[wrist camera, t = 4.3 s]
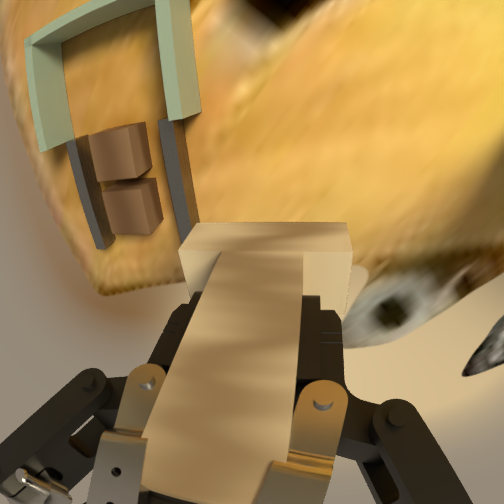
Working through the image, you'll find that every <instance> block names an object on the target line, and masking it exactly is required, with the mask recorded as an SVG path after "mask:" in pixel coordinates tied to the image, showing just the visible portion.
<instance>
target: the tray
mask: <svg viewBox="0 0 504 504" xmlns="http://www.w3.org/2000/svg"><path fill="white" fill-rule="evenodd" d="M152 5H155V9H156V21H157V31H158V41H159V51H160V60H161V68H162V76H163V84H164V91H165V99H166V106H167V113H168V119H169V121H171V120H178V119H183V118H186V117H189V116H191V115H194V114H197V113H199V112H202V111H201V103H200V95H199V87H198V79H197V70H196V61H195V52H194V43H193V33H192V23H191V13H190V2H189V0H91V1H89V2H87V3H85V4H83V5H81V6H79V7H77V8H75V9H74V10H72V11H70V12H68V13H66V14H64V15H63V16H61V17H59V18H58V19H56V20H54V21H52V22H51V23H49V24H48V25H46V26H44V27H43V28H41V29H40V30H38V31H37V32H35V33H34V34H32V35H31V36H29V37H28V38H26V39H25V40H24V45H25V61H26V72H27V81H28V89H29V96H30V103H31V109H32V115H33V120H34V126H35V131H36V136H37V140H38V145H39V149H40V153H41V152H44V151H47V150H49V149H51V148H53V147H56V146H58V145H60V144H62V143H65V142H67V141H69V140H72V139H74V138H75V137H74V132H73V127H72V122H71V117H70V111H69V105H68V99H67V92H66V85H65V77H64V69H63V60H62V49H61V43H63V42H65V41H66V40H68V39H70V38H72V37H74V36H76V35H78V34H80V33H83V32H85V31H87V30H89V29H91V28H93V27H96V26H98V25H100V24H103V23H105V22H107V21H110V20H112V19H115V18H117V17H120V16H123V15H125V14H128V13H131V12H134V11H137V10H139V9H142V8H146V7H149V6H152Z"/></svg>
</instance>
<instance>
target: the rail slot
mask: <svg viewBox="0 0 504 504" xmlns="http://www.w3.org/2000/svg"><path fill="white" fill-rule="evenodd" d="M158 127H159V133H160V139H161V145H162V150H163V156H164V161H165V167H166V172H167V177H168V183H169V188H170V193H171V197H172V202H173V207H174V212H175V216H176V221H177V226H178V230H179V235H180V239H181V243H182V244H183V242H184V241H185V239H186V238H187V236H188V235H189V233H190V232H191V230H192V229H193V228H194V226H195V225H196V223H200V221H199V216H198V210H197V205H196V199H195V193H194V187H193V181H192V175H191V169H190V163H189V157H188V151H187V144H186V137H185V131H184V124H183V119H178V120H171V121H169V119H168V117H166V118H163V119H160V120H158ZM66 145H67V150H68V154H69V158H70V162H71V167H72V170H73V174H74V178H75V182H76V185H77V189H78V192H79V196H80V199H81V203H82V206H83V209H84V212H85V216H86V219H87V222H88V225H89V228H90V231H91V234H92V236H93V239H94V242H95V245H96V248H97V249H107V248H108V246H109V245H110V244H111V243H112V242H113V241H114V240H115V239H116V238H115V235H114V234H112V230H111V227H110V223H109V219H108V216H107V212H106V208H105V204H104V200H103V196H102V191H101V187H100V183H99V182H98V181H97V177H96V173H95V168H94V164H93V159H92V154H91V149H90V144H89V139H88V135H84V136H81V137H78V138H76V139H73V140H71V141H68V142H66Z"/></svg>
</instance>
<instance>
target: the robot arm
mask: <svg viewBox="0 0 504 504" xmlns="http://www.w3.org/2000/svg"><path fill="white" fill-rule="evenodd" d="M202 293H203V291H195V292H194V294H193V296H192V298H191V300H190V302H189V304H181V305H180V306H179V307H178V308H177V309H176V310H175V311H173V313H172V314H171V317H170V318H169V320H168V323H167V325H166V326H165V329H164V330H163V333H162V334H161V336H160V338H159V340H158V342H157V344H156V346H155V348H154V350H153V352H152V354H151V357H150V358H149V361H148V362H147V364H143V365H140V366H138V367H137V368H135V369H134V370H132V371H131V373H130V374H129V376H126V377H115V378H107V377H106V376H105V374H104V373H103V372H102V371H101V370H99V369H96V368H90V369H86V370H84V371H82V372H80V373H79V374H78V375H77V376H76V377H75V378H73V379H72V380H71V381H70V382H69V383H68V384H67V385H65V386H64V387H63V388H62V389H61V390H60V391H59V392H58V393H57V394H55V395H54V396H53V397H52V398H51V399H50V400H49V401H47V402H46V403H45V404H44V405H43V406H42V407H41V408H39V410H37V411H36V412H35V413H34V414H33V415H32V416H31V417H29V418H28V419H27V420H26V421H25V422H24V423H23V424H22V425H21V426H20V427H18V428H17V430H15V431H14V432H13V433H12V434H11V435H10V436H9V437H7V438H6V439H5V440H4V441H3V442H2V443H1V444H0V493H1V494H2V495H4V496H5V497H6V498H7V499H8V501H9V503H10V504H71V503H72V497H71V496H70V495H69V493H68V492H69V491H70V490H71V489H72V488H73V487H74V486H75V485H76V484H77V483H78V482H80V480H82V479H83V478H84V477H85V476H86V475H87V474H88V473H89V472H90V471H91V470H92V469H93V472H92V477H91V482H90V487H89V492H88V498H87V502H85V503H83V504H198V503H193V502H189V501H185V500H181V499H178V498H174V497H170V496H167V495H164V494H160V493H157V492H154V491H151V490H149V489H148V488H147V487H145V486H143V485H142V484H141V483H142V476H143V469H144V462H145V456H146V450H147V443H148V438H141V437H142V434H143V432H144V429H145V427H146V424H147V422H148V419H149V417H150V414H151V412H152V409H153V407H154V405H155V402H156V400H157V397H158V395H159V392H160V390H161V388H162V385H163V383H164V381H165V378H166V376H167V373H168V371H169V369H170V366H171V364H172V362H173V359H174V357H175V355H176V352H177V350H178V348H179V345H180V343H181V341H182V338H183V336H184V334H185V332H186V329H187V327H188V325H189V322H190V320H191V318H192V316H193V313H194V311H195V309H196V307H197V304H198V302H199V300H200V298H201V295H202ZM342 342H343V341H342V326H341V319H340V318H339V316H338V315H337V313H336V311H335V310H321V304H320V295H302V307H301V323H300V338H299V351H298V364H297V375H296V396H295V411H294V414H293V417H292V424H291V433H290V441H289V449H288V456H287V461H286V463H284V462H279V461H275V460H274V461H273V464H272V466H271V468H270V471H269V473H268V475H267V478H266V480H265V483H264V485H263V487H262V490H261V492H260V495H259V497H258V499H257V501H256V504H323V501H324V498H325V495H326V492H327V489H328V485H329V482H330V479H331V475H332V471H333V463H334V459H335V455H338V456H341V457H345V458H348V459H352V460H356V462H357V464H358V466H359V468H360V470H361V473H362V475H363V477H364V479H365V481H366V483H367V485H368V487H369V489H370V491H371V493H372V495H373V498H374V500H375V502H376V504H473V503H472V501H471V500H470V498H469V496H468V494H467V492H466V491H465V489H464V487H463V485H462V483H461V482H460V480H459V478H458V476H457V475H456V473H455V471H454V470H453V468H452V466H451V465H450V463H449V461H448V459H447V458H446V456H445V455H444V453H443V451H442V450H441V448H440V446H439V445H438V443H437V441H436V440H435V438H434V437H433V435H432V433H431V432H430V430H429V429H428V427H427V425H426V424H425V422H424V421H423V419H422V417H421V416H420V414H419V413H418V412H417V410H416V408H415V407H414V406H413V405H412V404H411V403H409V402H408V401H405V400H402V399H391V400H387V401H385V402H383V403H382V404H380V405H379V404H375V403H371V402H367V401H363V400H360V399H359V398H357V397H355V396H354V395H352V394H351V393H350V391H349V390H348V389H347V387H346V385H345V380H344V359H343V344H342ZM92 415H93V416H94V418H93V419H92V420H90V421H89V422H88V423H87V424H86V425H85V426H84V427H83V428H82V429H81V430H80V431H79V432H78V433H76V434H75V435H73V436H71V435H72V434H73V433H74V432H75V431H76V430H77V429H78V428H79V427H80V426H81V425H82V424H83V423H84V422H86V421H87V420H88V419H89V418H90V417H91V416H92Z"/></svg>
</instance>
